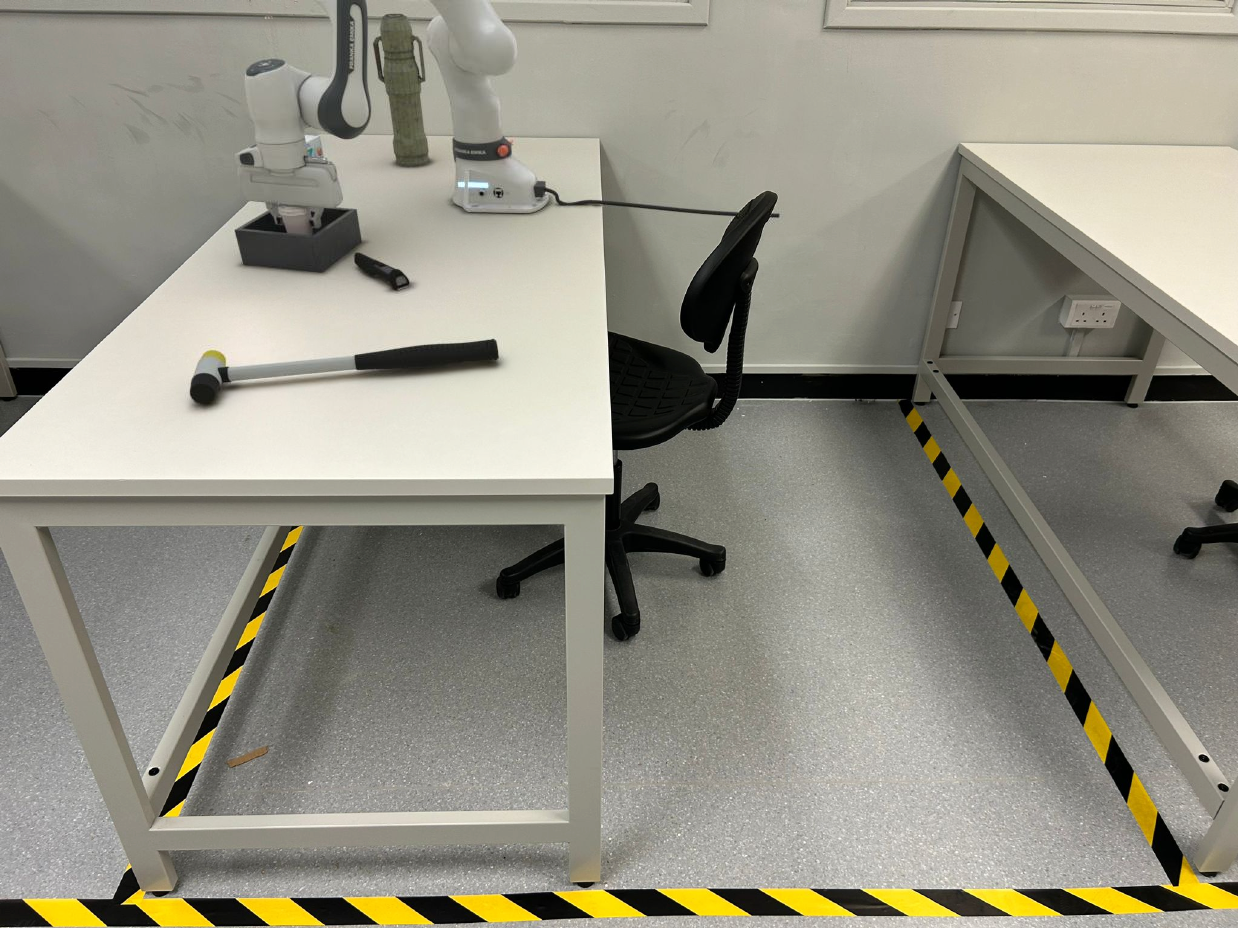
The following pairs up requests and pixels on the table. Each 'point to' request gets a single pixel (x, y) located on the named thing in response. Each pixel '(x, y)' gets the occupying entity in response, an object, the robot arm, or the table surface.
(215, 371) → the hammer
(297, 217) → the smoothie
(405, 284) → the electric trimmer
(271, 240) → the basin
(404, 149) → the thermos
